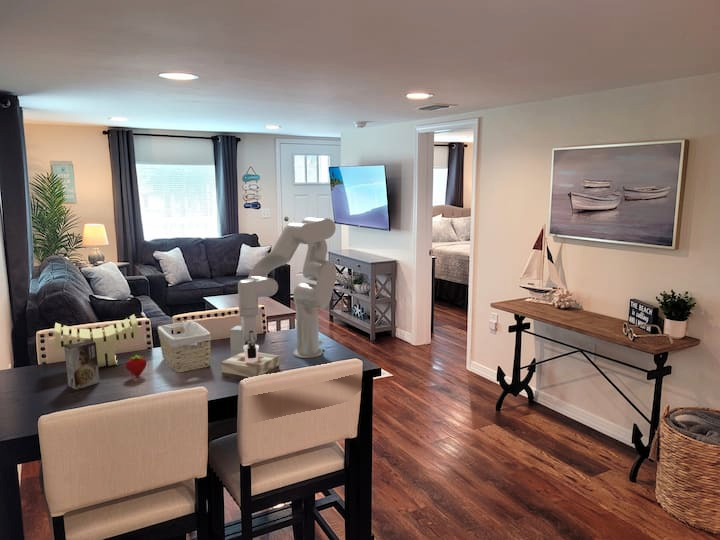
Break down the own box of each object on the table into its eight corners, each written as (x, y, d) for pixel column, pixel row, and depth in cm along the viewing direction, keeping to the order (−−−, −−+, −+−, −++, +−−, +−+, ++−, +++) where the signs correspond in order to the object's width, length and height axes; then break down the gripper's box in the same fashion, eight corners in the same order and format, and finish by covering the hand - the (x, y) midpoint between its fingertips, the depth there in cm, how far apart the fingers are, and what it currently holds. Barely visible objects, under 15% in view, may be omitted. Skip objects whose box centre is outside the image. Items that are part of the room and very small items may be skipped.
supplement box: (246, 358, 227) (245, 330, 225) (230, 357, 228) (229, 329, 226) (253, 353, 234) (252, 325, 232) (237, 352, 236) (236, 324, 233)
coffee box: (92, 379, 204) (88, 338, 202) (100, 382, 200) (96, 341, 198) (67, 385, 197) (63, 344, 195) (75, 390, 193) (70, 347, 191)
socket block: (247, 363, 222) (246, 350, 221) (279, 368, 215) (278, 355, 214) (221, 375, 207) (221, 362, 206) (255, 381, 201) (254, 368, 200)
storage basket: (214, 367, 217) (212, 332, 215) (173, 375, 208) (171, 339, 206) (196, 352, 237) (194, 320, 234) (158, 359, 228) (156, 325, 225)
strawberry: (125, 376, 207) (123, 351, 205) (145, 372, 211) (144, 348, 209) (128, 381, 202) (126, 356, 200) (149, 377, 206) (147, 352, 204)
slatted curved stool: (58, 375, 208) (54, 331, 205) (59, 363, 222) (55, 322, 219) (140, 363, 222) (137, 322, 219) (136, 352, 236) (134, 313, 233)
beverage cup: (260, 365, 214) (260, 332, 212) (257, 371, 208) (257, 336, 205) (244, 365, 214) (244, 331, 211) (242, 370, 208) (241, 336, 205)
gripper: (236, 307, 214) (238, 349, 217) (241, 317, 198) (243, 363, 201) (255, 305, 216) (256, 347, 219) (262, 315, 200) (263, 360, 203)
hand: (250, 354), depth 210 cm, fingers open, 7 cm apart
